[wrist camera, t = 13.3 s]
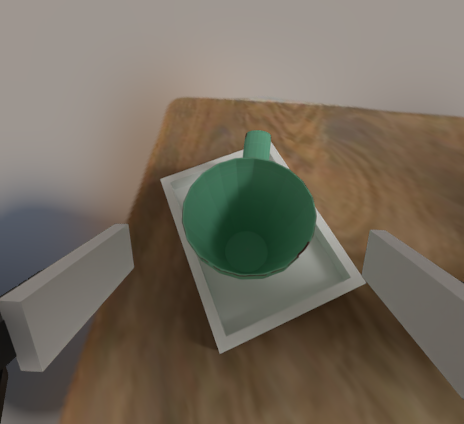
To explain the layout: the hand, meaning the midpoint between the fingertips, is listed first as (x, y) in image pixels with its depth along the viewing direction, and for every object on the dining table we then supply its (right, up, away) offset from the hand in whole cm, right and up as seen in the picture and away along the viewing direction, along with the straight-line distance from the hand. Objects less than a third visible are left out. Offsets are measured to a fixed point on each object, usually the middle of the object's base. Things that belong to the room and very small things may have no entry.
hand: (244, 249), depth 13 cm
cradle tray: (+1, 0, +15) cm, 15 cm away
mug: (+1, 0, +14) cm, 14 cm away
